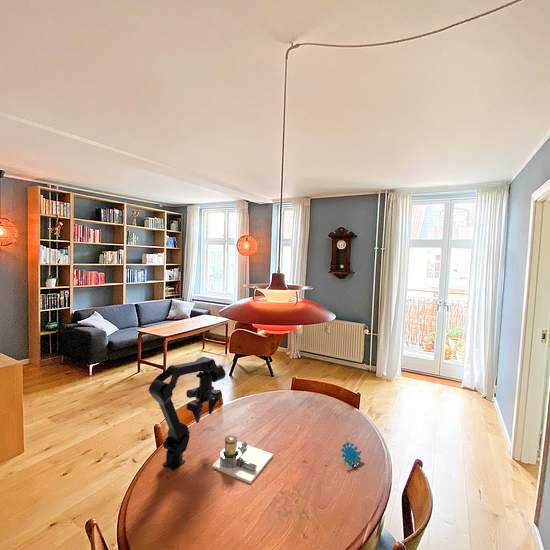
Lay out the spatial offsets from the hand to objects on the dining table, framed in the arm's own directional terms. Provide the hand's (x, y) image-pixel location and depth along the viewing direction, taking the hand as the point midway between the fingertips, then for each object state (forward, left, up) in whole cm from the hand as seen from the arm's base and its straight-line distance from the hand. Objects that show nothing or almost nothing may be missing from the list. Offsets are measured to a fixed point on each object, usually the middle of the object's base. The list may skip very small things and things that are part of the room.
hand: (203, 418), depth 145 cm
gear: (+25, -63, -13) cm, 69 cm away
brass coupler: (-4, -18, -12) cm, 22 cm away
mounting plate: (0, -22, -13) cm, 26 cm away
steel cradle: (0, -22, -12) cm, 25 cm away
